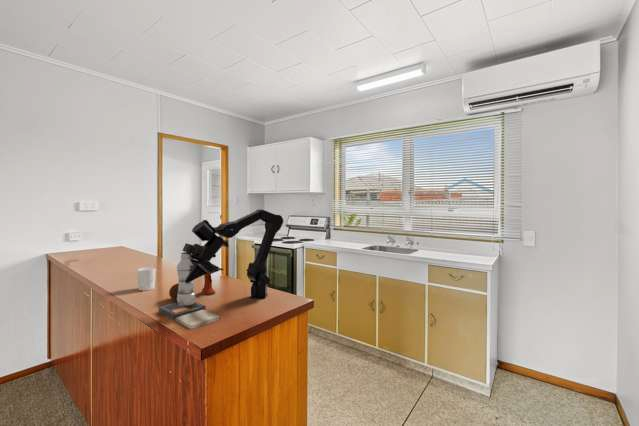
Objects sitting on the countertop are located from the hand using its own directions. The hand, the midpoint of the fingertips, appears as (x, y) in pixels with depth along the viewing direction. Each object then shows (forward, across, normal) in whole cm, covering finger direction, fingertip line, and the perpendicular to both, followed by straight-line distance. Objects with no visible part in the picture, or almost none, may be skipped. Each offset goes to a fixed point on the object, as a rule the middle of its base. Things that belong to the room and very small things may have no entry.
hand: (182, 280), depth 113 cm
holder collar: (+8, -4, +10) cm, 14 cm away
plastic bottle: (+6, 0, +8) cm, 10 cm away
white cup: (+9, -48, +10) cm, 49 cm away
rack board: (+8, +9, +11) cm, 16 cm away
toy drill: (-4, -17, +24) cm, 29 cm away
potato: (+6, -19, +14) cm, 24 cm away
